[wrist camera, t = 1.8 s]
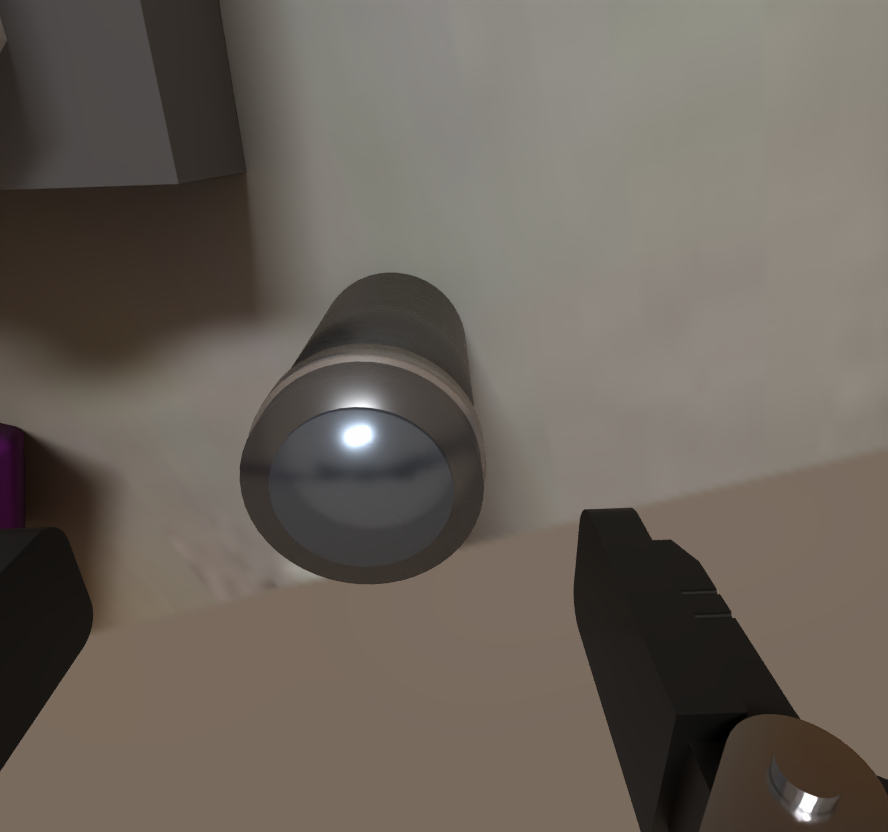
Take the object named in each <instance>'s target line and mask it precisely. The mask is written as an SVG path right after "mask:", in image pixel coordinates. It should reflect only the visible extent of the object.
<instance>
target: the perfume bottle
mask: <svg viewBox="0 0 888 832" xmlns="http://www.w3.org/2000/svg"><path fill="white" fill-rule="evenodd" d="M12 528H25V459H24V434H23V432H22V430H21V429H19V428H18V427H15V426H11V425H7V424H2V423H0V529H12Z"/></svg>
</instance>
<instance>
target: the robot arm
mask: <svg viewBox="0 0 888 832" xmlns="http://www.w3.org/2000/svg"><path fill="white" fill-rule="evenodd" d="M574 606H575V615H576V620H577V625H578V628H579V632H580V635H581V639H582V642H583V645H584V648H585V652H586V655H587V658H588V661H589V665H590V668H591V671H592V674H593V678H594V681H595V684H596V687H597V691H598V694H599V697H600V700H601V704H602V707H603V710H604V713H605V717H606V720H607V723H608V726H609V730H610V733H611V736H612V739H613V742H614V745H615V749H616V752H617V756H618V759H619V762H620V765H621V768H622V772H623V775H624V778H625V782H626V785H627V788H628V791H629V795H630V798H631V801H632V804H633V808H634V811H635V814H636V817H637V821H638V823H639V827H640V830H641V832H888V780H887V779H884V778H882V777H879V776H877V775H876V774H875V773H874V772H873V771H872V769H871V768H870V767H869V766H868V765H867V763H866V762H865V761H864V760H863V759H862V758H861V757H860V756H859V755H858V754H857V753H856V752H855V751H854V750H853V749H851V748H850V747H849V746H848V745H846V744H845V743H844V742H842V741H841V740H840V739H838V738H837V737H835V736H834V735H832V734H830V733H829V732H827V731H825V730H823V729H821V728H820V727H818V726H816V725H814V724H811V723H809V722H806V721H804V720H801V719H800V718H799V716H798V715H797V714H796V712H795V711H794V709H793V708H792V706H791V705H790V703H789V702H788V700H787V698H786V697H785V695H784V694H783V692H782V690H781V689H780V687H779V686H778V684H777V683H776V681H775V679H774V678H773V676H772V675H771V673H770V672H769V670H768V669H767V667H766V665H765V664H764V662H763V661H762V659H761V658H760V656H759V654H758V653H757V651H756V650H755V648H754V647H753V645H752V644H751V642H750V640H749V639H748V637H747V636H746V634H745V633H744V631H743V630H742V628H741V627H740V625H739V623H738V622H737V620H736V619H735V618H732V616H731V611H730V609H729V608H728V606H727V605H726V603H725V601H724V600H723V598H722V597H721V595H720V594H717V591H716V587H715V586H714V584H713V583H712V581H711V579H710V578H709V576H708V575H707V573H706V572H705V570H704V568H703V567H702V565H701V564H700V562H699V561H698V560H696V559H695V558H694V557H692V556H691V555H690V554H689V553H687V552H686V551H685V550H684V549H682V548H681V547H680V546H678V545H677V544H676V543H675V542H673V541H672V540H652V539H651V537H650V535H649V533H648V532H647V530H646V528H645V526H644V525H643V523H642V521H641V519H640V517H639V515H638V514H637V512H636V511H635V510H634V509H633V508H612V509H584V510H583V511H582V514H581V517H580V524H579V535H578V546H577V557H576V568H575V578H574ZM92 621H93V609H92V603H91V600H90V597H89V595H88V592H87V589H86V587H85V584H84V581H83V579H82V576H81V573H80V571H79V568H78V565H77V562H76V560H75V557H74V554H73V552H72V549H71V546H70V544H69V541H68V539H67V537H66V535H65V534H64V532H63V531H62V530H60V529H59V528H56V527H40V528H12V529H0V771H1V769H2V768H3V766H4V765H5V763H6V762H7V760H8V759H9V757H10V756H11V754H12V753H13V751H14V750H15V748H16V747H17V745H18V744H19V742H20V741H21V739H22V738H23V736H24V735H25V734H26V732H27V730H28V729H29V728H30V726H31V725H32V723H33V722H34V720H35V718H36V717H37V716H38V714H39V713H40V711H41V710H42V708H43V707H44V705H45V704H46V702H47V701H48V699H49V698H50V696H51V695H52V693H53V692H54V690H55V689H56V687H57V686H58V684H59V682H60V681H61V680H62V678H63V677H64V675H65V674H66V672H67V671H68V669H69V668H70V666H71V665H72V663H73V662H74V660H75V659H76V657H77V656H78V654H79V653H80V651H81V650H82V649H83V647H84V645H85V644H86V641H87V639H88V637H89V634H90V631H91V627H92Z"/></svg>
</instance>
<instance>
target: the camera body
mask: <svg viewBox="0 0 888 832" xmlns="http://www.w3.org/2000/svg"><path fill="white" fill-rule="evenodd" d="M243 172H246V169H245V163H244V156H243V150H242V144H241V138H240V132H239V126H238V120H237V114H236V107H235V101H234V95H233V89H232V83H231V77H230V71H229V64H228V58H227V52H226V46H225V40H224V34H223V28H222V21H221V15H220V9H219V3H218V0H0V190H19V189H48V188H77V187H106V186H135V185H164V184H181V183H187V182H193V181H198V180H204V179H209V178H215V177H220V176H226V175H231V174H237V173H243Z"/></svg>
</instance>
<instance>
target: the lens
mask: <svg viewBox="0 0 888 832" xmlns="http://www.w3.org/2000/svg"><path fill="white" fill-rule="evenodd" d="M485 472H486V459H485V449H484V442H483V435H482V431H481V426H480V422H479V419H478V416H477V414H476V411H475V409H474V403H473V395H472V388H471V380H470V373H469V365H468V358H467V350H466V343H465V335H464V330H463V326H462V322H461V320H460V317H459V315H458V313H457V311H456V309H455V307H454V306H453V305H452V303H451V302H450V300H449V299H448V298H447V297H446V296H445V295H444V294H443V293H442V292H441V291H440V290H438V289H437V288H436V287H435V286H433V285H431V284H430V283H428V282H427V281H424V280H422V279H420V278H418V277H415V276H411V275H408V274H402V273H380V274H375V275H371V276H368V277H365V278H363V279H360V280H358V281H356V282H355V283H353V284H351V285H350V286H349V287H347V288H346V289H345V290H344V291H343V292H342V293H341V294H340V295H339V296H338V297H337V298H336V299H335V301H334V302H333V303H332V305H331V306H330V308H329V310H328V311H327V313H326V314H325V316H324V317H323V319H322V321H321V322H320V324H319V325H318V327H317V328H316V330H315V332H314V333H313V335H312V336H311V338H310V339H309V341H308V343H307V344H306V346H305V347H304V349H303V350H302V352H301V354H300V355H299V357H298V358H297V360H296V361H295V363H294V365H293V366H292V368H291V369H290V370H289V371H288V372H287V373H286V374H285V375H284V376H283V377H282V378H281V379H280V380H279V381H278V382H277V384H276V385H275V386H274V388H273V389H272V390H271V392H270V393H269V395H268V396H267V398H266V399H265V401H264V402H263V404H262V405H261V407H260V409H259V411H258V413H257V414H256V416H255V418H254V421H253V423H252V426H251V429H250V432H249V437H248V439H247V441H246V444H245V447H244V450H243V453H242V458H241V464H240V485H241V493H242V497H243V500H244V504H245V507H246V509H247V511H248V514H249V516H250V518H251V520H252V522H253V523H254V525H255V526H256V528H257V530H258V531H259V532H260V534H261V535H262V536H263V537H264V538H265V540H266V541H267V542H268V543H269V544H270V545H271V546H272V547H273V548H274V549H275V550H276V551H277V552H279V553H280V554H281V555H283V556H284V557H285V558H287V559H288V560H289V561H291V562H292V563H294V564H296V565H298V566H299V567H301V568H303V569H305V570H307V571H309V572H312V573H314V574H316V575H319V576H322V577H325V578H328V579H332V580H336V581H341V582H346V583H355V584H380V583H381V584H382V583H390V582H395V581H401V580H404V579H408V578H411V577H414V576H417V575H419V574H421V573H423V572H426V571H428V570H430V569H432V568H433V567H435V566H437V565H438V564H440V563H441V562H443V561H444V560H445V559H447V558H448V557H450V556H451V555H452V554H453V553H454V552H455V551H456V550H457V549H458V548H459V547H460V546H461V545H462V543H463V542H464V541H465V540H466V538H467V537H468V536H469V534H470V532H471V531H472V529H473V527H474V525H475V523H476V521H477V518H478V516H479V513H480V510H481V505H482V501H483V491H484V481H485Z"/></svg>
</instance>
